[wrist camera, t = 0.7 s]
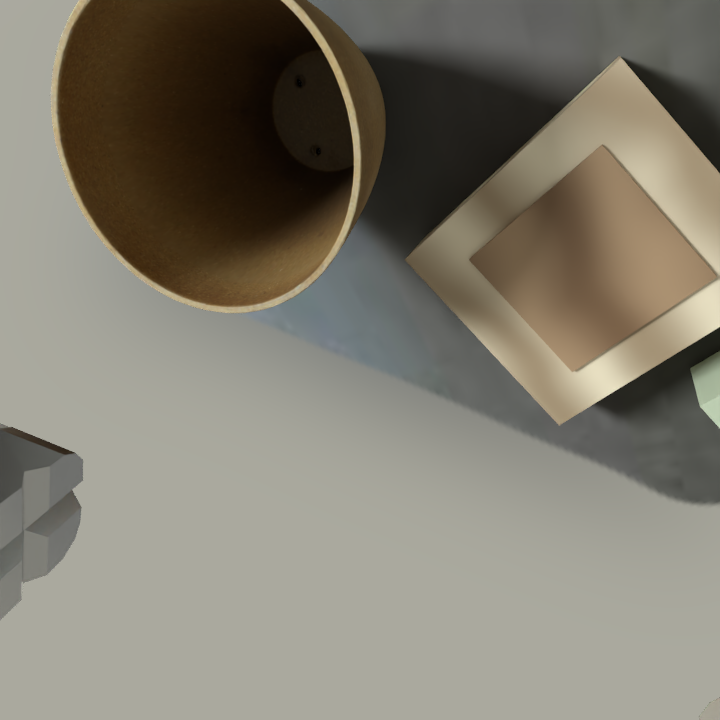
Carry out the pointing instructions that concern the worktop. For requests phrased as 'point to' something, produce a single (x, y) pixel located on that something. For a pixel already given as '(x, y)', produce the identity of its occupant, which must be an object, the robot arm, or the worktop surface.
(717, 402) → the sage block
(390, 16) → the worktop surface
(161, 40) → the plant pot
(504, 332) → the birch plinth
